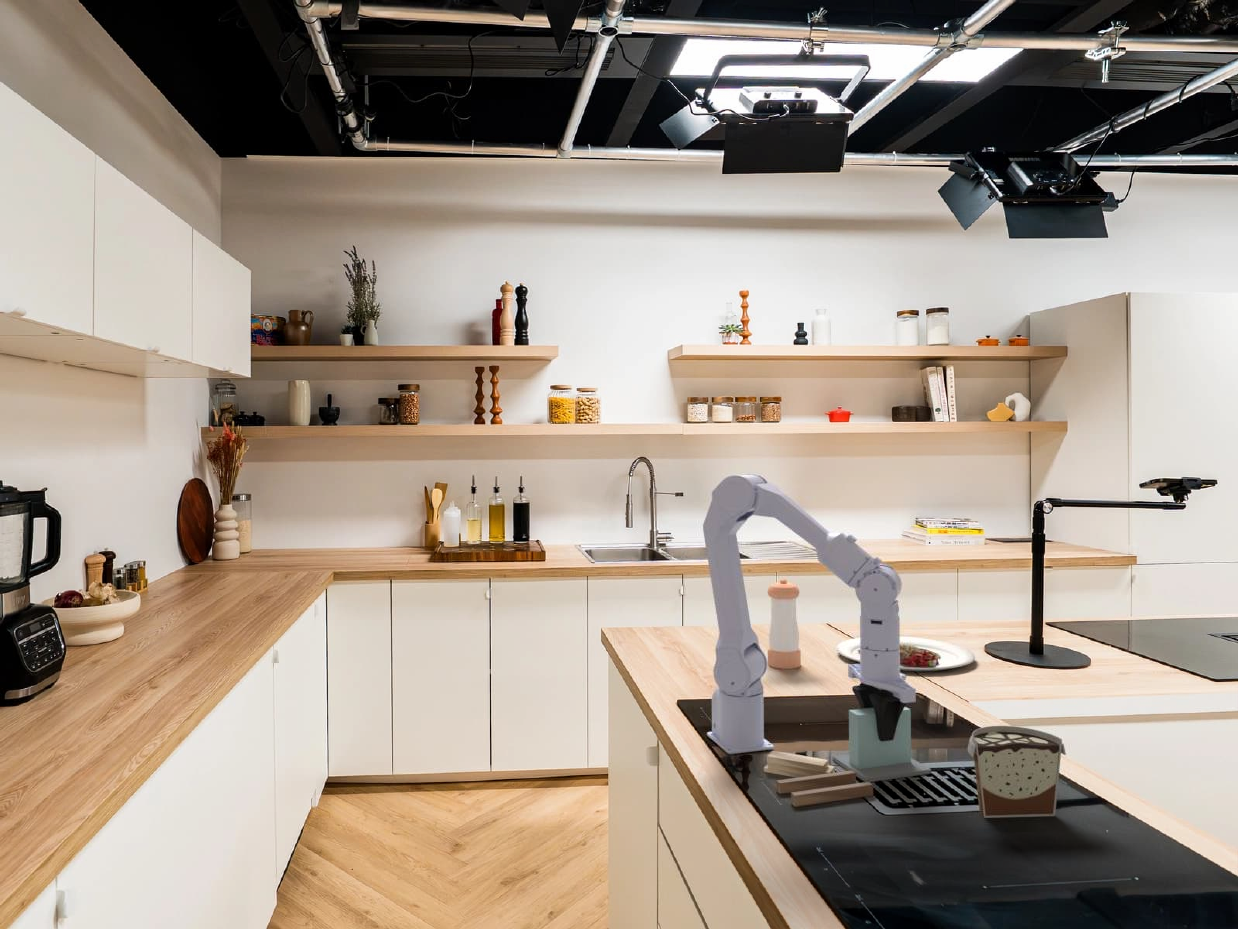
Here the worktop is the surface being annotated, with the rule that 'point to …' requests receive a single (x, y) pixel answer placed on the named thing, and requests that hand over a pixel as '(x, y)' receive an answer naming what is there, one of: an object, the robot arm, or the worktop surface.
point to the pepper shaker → (783, 626)
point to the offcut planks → (796, 765)
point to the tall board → (877, 740)
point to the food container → (1016, 771)
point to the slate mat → (883, 769)
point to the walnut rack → (824, 788)
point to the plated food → (918, 654)
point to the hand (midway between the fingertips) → (880, 736)
